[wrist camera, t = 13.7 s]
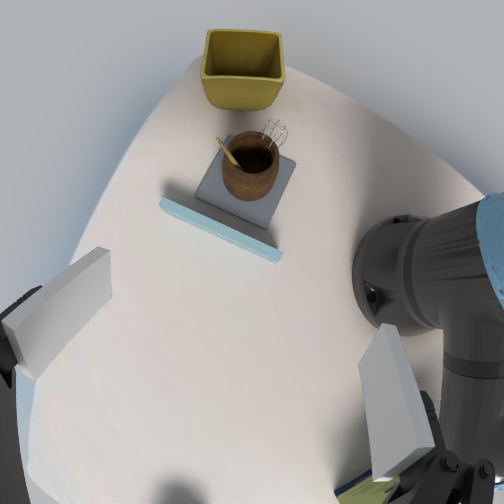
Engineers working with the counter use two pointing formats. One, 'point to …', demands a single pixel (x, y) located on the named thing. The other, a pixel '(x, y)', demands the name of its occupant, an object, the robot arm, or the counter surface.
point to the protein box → (365, 490)
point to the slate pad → (249, 211)
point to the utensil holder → (250, 164)
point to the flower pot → (242, 68)
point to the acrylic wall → (220, 230)
